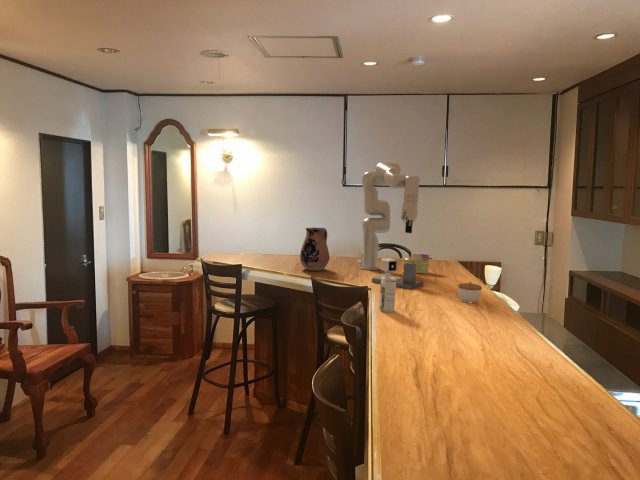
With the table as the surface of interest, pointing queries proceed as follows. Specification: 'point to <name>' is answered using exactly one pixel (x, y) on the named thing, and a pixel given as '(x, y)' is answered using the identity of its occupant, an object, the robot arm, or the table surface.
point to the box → (421, 262)
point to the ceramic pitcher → (315, 249)
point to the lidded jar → (469, 292)
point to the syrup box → (387, 294)
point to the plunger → (410, 260)
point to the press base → (404, 278)
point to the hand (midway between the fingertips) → (408, 232)
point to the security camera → (388, 266)
